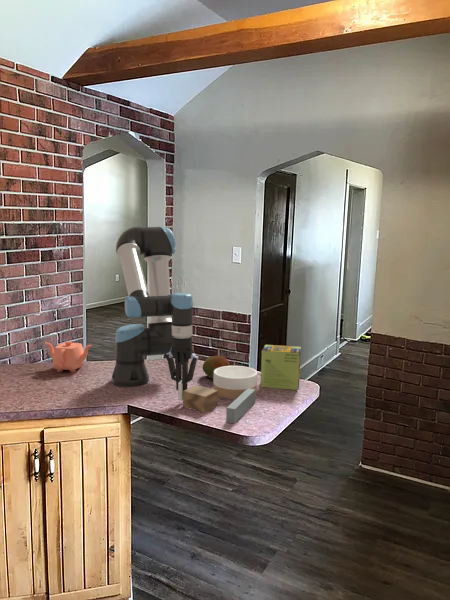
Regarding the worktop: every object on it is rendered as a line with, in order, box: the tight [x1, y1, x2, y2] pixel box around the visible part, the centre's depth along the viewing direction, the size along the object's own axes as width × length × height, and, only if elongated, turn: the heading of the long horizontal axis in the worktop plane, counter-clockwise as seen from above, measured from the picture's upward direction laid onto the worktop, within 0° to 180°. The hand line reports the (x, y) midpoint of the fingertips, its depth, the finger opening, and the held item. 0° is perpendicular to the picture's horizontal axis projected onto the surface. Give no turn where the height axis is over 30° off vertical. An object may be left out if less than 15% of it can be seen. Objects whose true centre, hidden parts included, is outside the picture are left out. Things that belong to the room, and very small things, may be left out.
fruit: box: [202, 355, 231, 379], centre depth 220 cm, size 12×13×10 cm
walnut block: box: [182, 385, 219, 413], centre depth 187 cm, size 10×8×6 cm
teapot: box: [44, 340, 93, 373], centre depth 228 cm, size 15×17×13 cm
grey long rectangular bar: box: [225, 388, 257, 424], centre depth 182 cm, size 3×22×5 cm, turn 159°
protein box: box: [260, 344, 302, 391], centre depth 212 cm, size 10×15×16 cm
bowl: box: [212, 365, 258, 400], centre depth 203 cm, size 17×17×8 cm
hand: (181, 399), depth 189 cm, fingers closed
